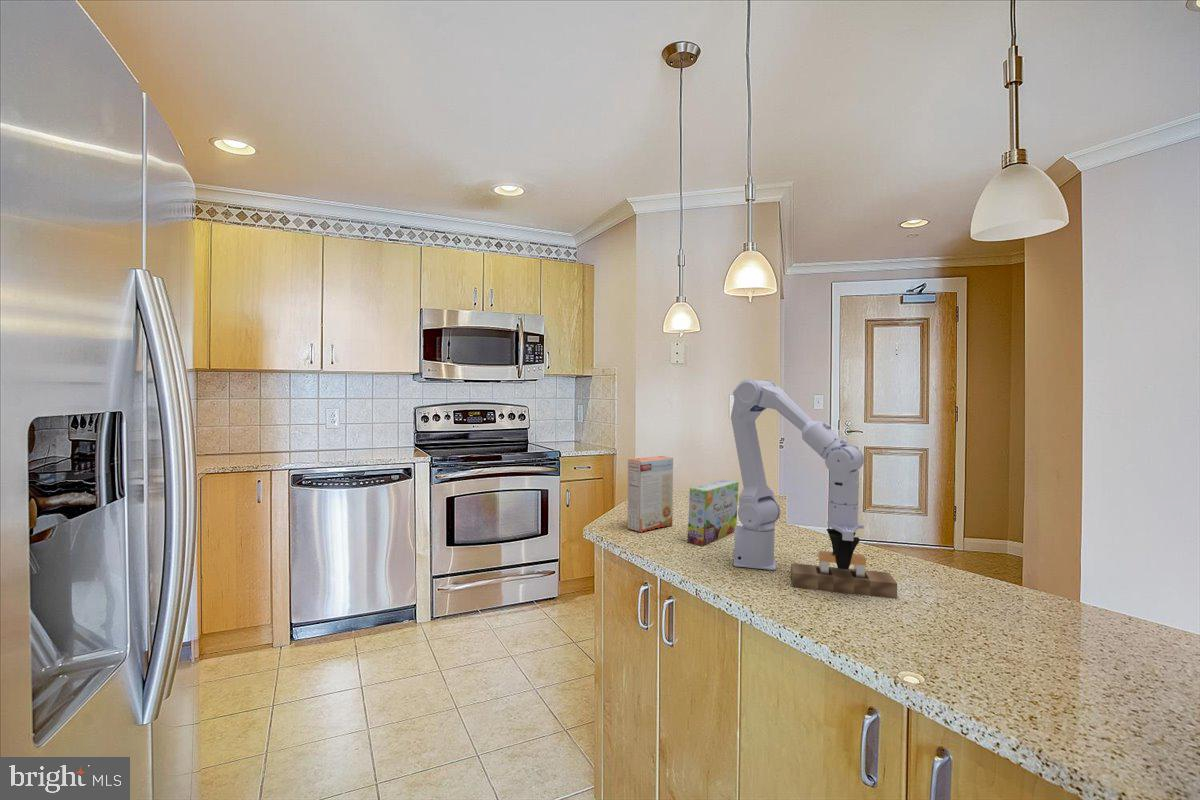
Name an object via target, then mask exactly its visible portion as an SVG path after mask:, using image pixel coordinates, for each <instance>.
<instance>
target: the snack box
mask: <svg viewBox="0 0 1200 800" xmlns="http://www.w3.org/2000/svg"><path fill="white" fill-rule="evenodd" d="M739 483H740V482H739V481H737V480H736V481H735V480H730V479H729V480H728V479H720V480H716V481H712V482H708V483H705V484H700V485H697V486H694V487H690V488H689V499H688V501H689V503H688V519H687V521H688V522H687V523H688V524H687V525H688V527H687V543H690V544H695V545H698V544H699V545H698V546H702V545H703V546H702V547H704V546H706V545H708V544H710V543H713V542H714V541H718V540H719V538H720V539H722V538H724V537H726V535H727V536H729V535H731V534H733V533H735V532H734V531H735V526H738V525H737V524H738V523H737V522H738V503H739ZM732 532H733V533H732ZM730 533H731V534H730ZM728 534H729V535H728ZM721 537H722V538H721Z"/></svg>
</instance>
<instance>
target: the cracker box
mask: <svg viewBox="0 0 1200 800" xmlns="http://www.w3.org/2000/svg"><path fill="white" fill-rule="evenodd" d="M673 486H674V457H669V456H664V455H659V456H648V457H647V456H646V457H640V458H632V459H627V530H629V529H631V530H630V531H633V530H635V531H634V532H637V531H638V533H640V532H641V533H644V532H643V531H645V532H648V531H647V530H650V531H652V530H651V529H654V530H656V529H655V528H658V529H661V528H660V527H663V528H666V527H665V526H667V527H670V526H669V525H672V526H673V513H674V512H673V511H674V510H673V509H674V508H673V505H674V504H673V503H674V501H673V500H674V499H673V495H674V489H673V488H674V487H673Z"/></svg>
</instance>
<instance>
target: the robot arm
mask: <svg viewBox="0 0 1200 800" xmlns="http://www.w3.org/2000/svg"><path fill="white" fill-rule="evenodd" d="M732 394H733V404H732V409H731V413H730V419H731V420H730V421H731V425H732V430H733V436H734V442H735V448H736V453H737V457H738V465H739V470H740V476H741V481H742V485H743V489H742V491H741V492H740V494H739V495H738V503H739V505H738V508H737V518H738V520H739V521H740V523H741V524H742V525H737V526H735V532H734V546H733V547H734V548H733V549H732V557H733V566H734V567H740V568H748V569H759V570H767V571H777V564H776V563H777V562H776V559H775V539H776V538H775V536H776V535H775V531H776V529H775V528H776V522H777V521H778V520H779V519H780V516H781V513H782V512H781V507H780V504H779V503H778V501H777V500H776V498H775V493H774V491H773V490H772V489H771V487H769V486H768V483H767V479H766V478H767V477H766V473H765V468H764V462H763V458H762V457H763V456H762V453H761V452H762V451H761V446H760V442H759V437H758V436H759V435H758V432H757V431H758V430H757V425H756V420H757V419H758V418H759V416H760V415H761V414H762V412H763V411H765V410H766V409H771V410H772V409H773V410H775V411H777V412H778V413H779V414H780V415H781V416H782V417H784V418H785V419H786V420H787V421H788V422H790V423H791V424H792V425H794V427H796V428H797V429H799V430H800V431H801V439H802V440H803V441H804V442H805V443H806V444H807V445H808V446H809V447H810V448H811V449H812V450H813V451H815V453H816V454H818V455H819V456H820V457H821V458H822V459H823V460H824V463H825V466H826V469H827V470H828V471H829V485H828V486H829V487H828V488H829V489H828V492H829V493H828V494H829V496H828V520H827V521H826V522H827V523H826V524H827V526H828V527H829V528H826V532H827V534H828V535H829V539H830V542H831V548H832V552H835V556H836V563H835V564H836V568H839V569H850V566H851V564H850V563H851V559H852V555H853V554H854V552H855V549H856V548H857V546H858V544H859V543H860V540H861V539H860V538H859V537H858V536H857V537H856V536H855V535H856V532H857V531H858V530H859V529H860V530H861V529H865V526H864V523H859V521H858V519H859V491H860V490H859V485H860V482H859V481H860V479H859V478H860V471H859V470H860V469H861V468H862V466H863V464H864V462H865V460H864V459H865V458H864V454H863V452H862V451H861V450H860V448H859V447H858V446H856V445H853V444H848V440H847V439H846V438H841V437H840V436H839V435H838V434H837V433H836V432H834V430H832V429H831V427H832V425H831V424H829V422H823V421H822V420H813V419H812V418H811V417H810V416H809V415H808V414H807V413H806V412H804V410H803V409H802V408H801V407H800V406H798V404H796V402H795V401H793V400H792V399H791V398H790V397H789V396H788V395H787V393H785V391H784V390H783V388H781V387H779V386H777V385H776V383H775V382H774V381H772V380H769V379H764V380H755V379H751V378H749V379H748V378H747V379H744V380H742V381H741V382H739V384H738V385H737V386H736V387H735V388H734V390H733V392H732Z"/></svg>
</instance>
